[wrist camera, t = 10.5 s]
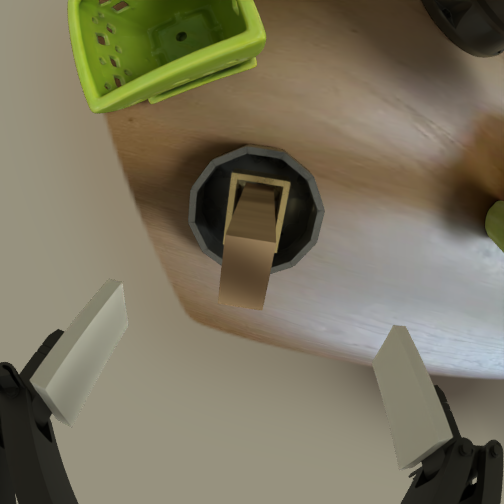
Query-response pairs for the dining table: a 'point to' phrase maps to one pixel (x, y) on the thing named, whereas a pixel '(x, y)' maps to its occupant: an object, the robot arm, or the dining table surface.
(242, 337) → the dining table surface
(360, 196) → the dining table surface
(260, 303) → the wooden slab
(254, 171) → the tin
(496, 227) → the plant pot
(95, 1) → the flower pot
